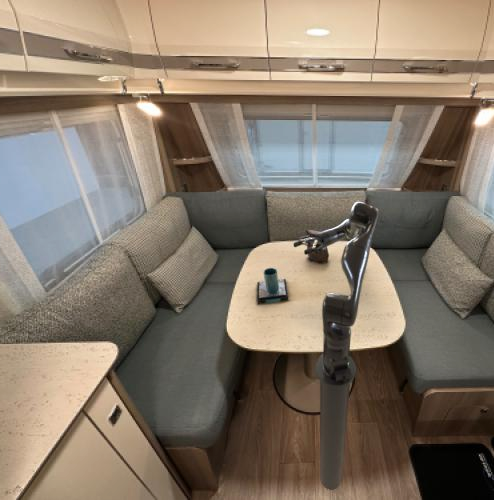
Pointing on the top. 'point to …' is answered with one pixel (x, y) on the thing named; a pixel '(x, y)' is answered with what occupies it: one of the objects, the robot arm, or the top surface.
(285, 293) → the scale
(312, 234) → the owl
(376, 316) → the top surface
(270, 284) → the cup
